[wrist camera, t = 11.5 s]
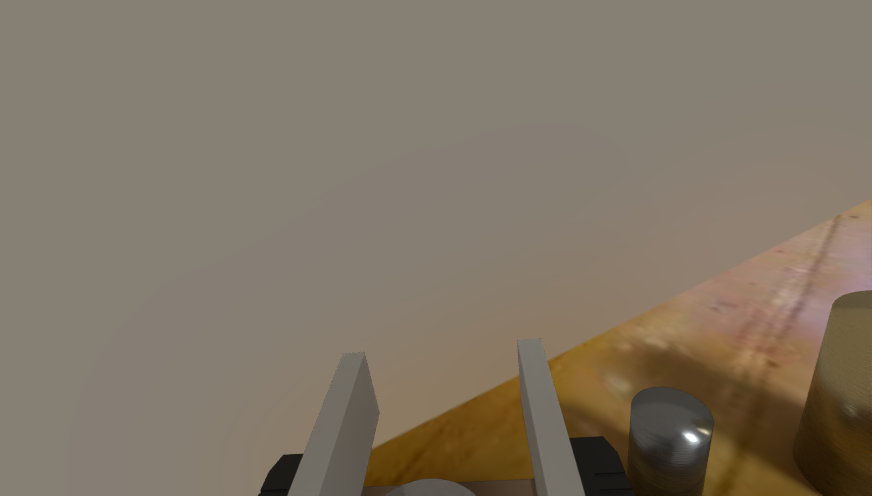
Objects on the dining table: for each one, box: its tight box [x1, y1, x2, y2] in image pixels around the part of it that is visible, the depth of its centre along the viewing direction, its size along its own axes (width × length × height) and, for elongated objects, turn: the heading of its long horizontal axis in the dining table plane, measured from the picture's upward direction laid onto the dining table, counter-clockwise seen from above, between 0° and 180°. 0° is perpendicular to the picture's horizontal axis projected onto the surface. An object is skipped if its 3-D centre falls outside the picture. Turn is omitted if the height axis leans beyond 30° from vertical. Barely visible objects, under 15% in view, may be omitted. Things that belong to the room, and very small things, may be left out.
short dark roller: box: [627, 387, 714, 496], centre depth 22 cm, size 4×4×5 cm
